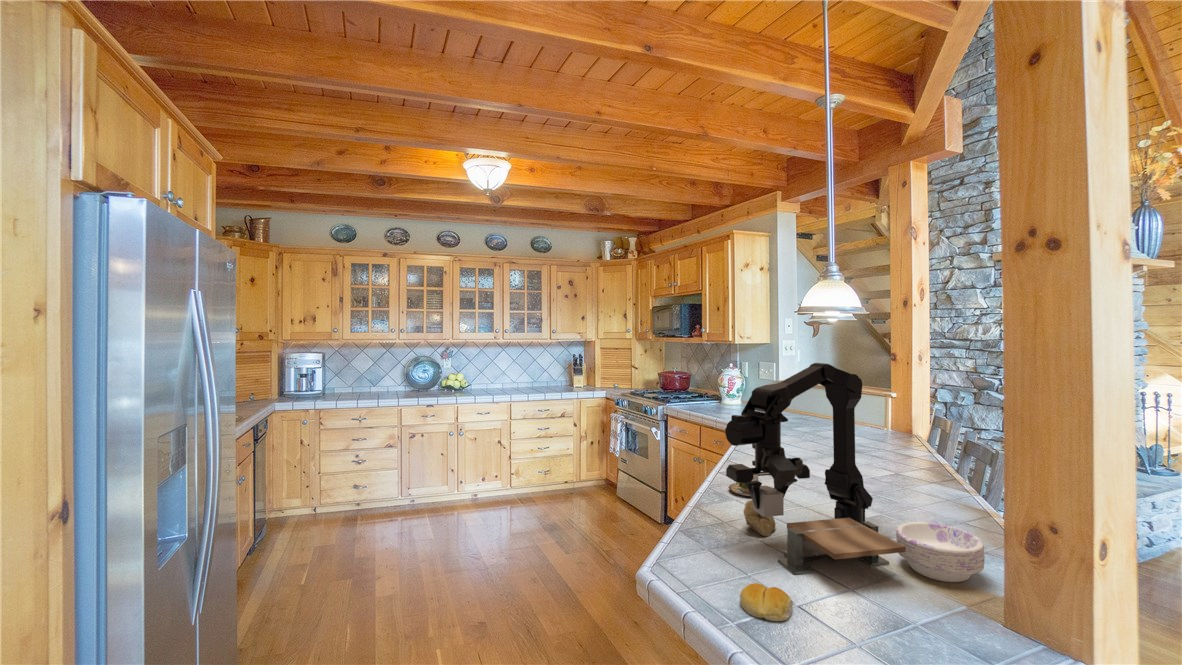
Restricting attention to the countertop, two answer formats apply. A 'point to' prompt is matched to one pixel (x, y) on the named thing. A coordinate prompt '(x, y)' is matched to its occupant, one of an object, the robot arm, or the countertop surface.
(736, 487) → the burger
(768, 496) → the gray block
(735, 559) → the countertop surface
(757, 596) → the bread roll
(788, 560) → the trapdoor frame
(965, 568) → the paper bowls
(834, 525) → the trapdoor
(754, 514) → the fossil
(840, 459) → the robot arm
